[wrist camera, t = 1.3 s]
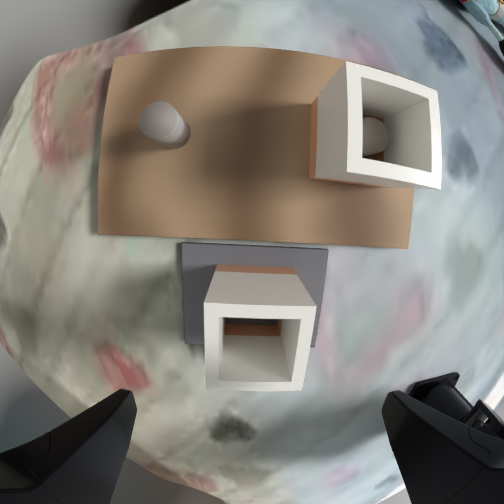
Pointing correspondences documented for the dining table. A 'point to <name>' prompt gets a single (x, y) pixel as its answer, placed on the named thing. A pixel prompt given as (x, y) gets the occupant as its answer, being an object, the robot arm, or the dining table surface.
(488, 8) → the toy
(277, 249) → the mat
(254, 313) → the sleeve loose
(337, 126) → the sleeve seated
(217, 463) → the dining table surface
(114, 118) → the pin board
